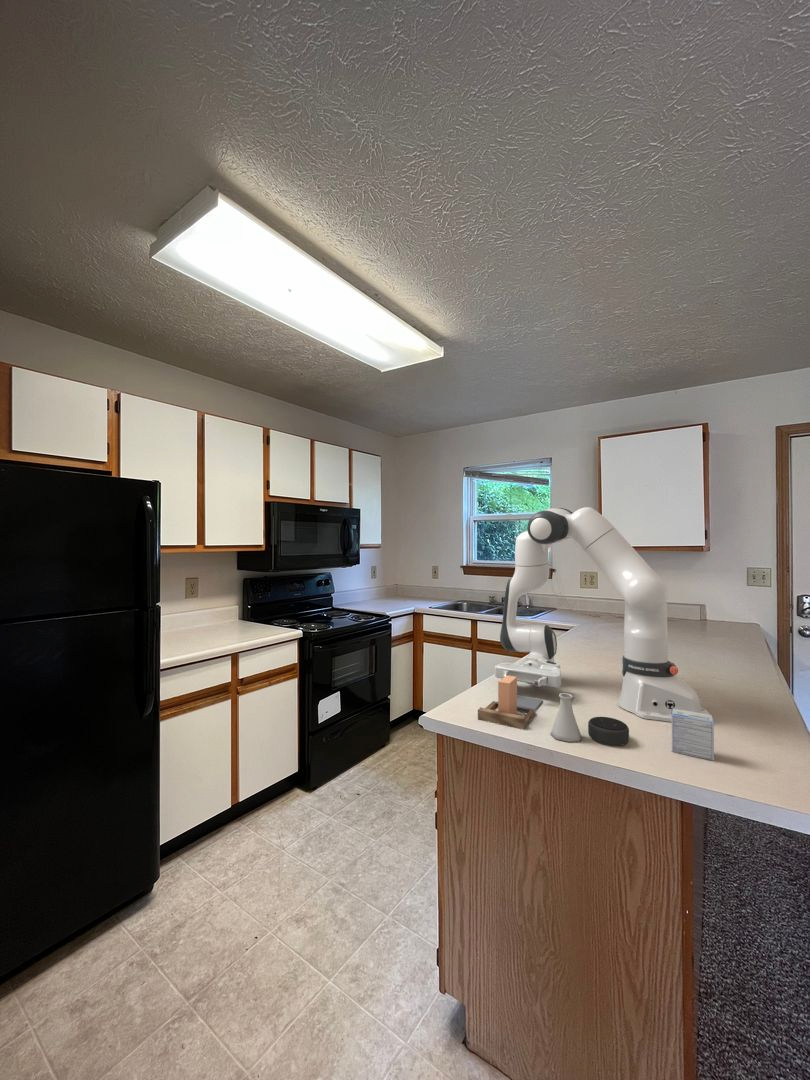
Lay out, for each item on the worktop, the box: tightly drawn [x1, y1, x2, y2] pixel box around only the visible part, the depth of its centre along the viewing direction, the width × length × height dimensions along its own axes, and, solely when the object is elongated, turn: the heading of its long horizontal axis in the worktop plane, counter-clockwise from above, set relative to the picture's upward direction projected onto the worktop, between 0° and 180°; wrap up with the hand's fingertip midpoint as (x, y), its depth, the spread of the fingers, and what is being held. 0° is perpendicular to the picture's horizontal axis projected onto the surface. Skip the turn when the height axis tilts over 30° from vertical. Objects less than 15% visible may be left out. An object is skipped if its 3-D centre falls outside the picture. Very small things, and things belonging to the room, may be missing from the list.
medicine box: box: [671, 709, 715, 761], centre depth 98 cm, size 8×4×9 cm, turn 58°
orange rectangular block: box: [497, 675, 518, 715], centre depth 118 cm, size 3×7×10 cm, turn 149°
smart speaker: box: [587, 716, 630, 747], centre depth 105 cm, size 9×9×4 cm
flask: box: [550, 692, 583, 743], centre depth 106 cm, size 7×7×10 cm
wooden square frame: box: [477, 700, 537, 730], centre depth 118 cm, size 12×12×2 cm
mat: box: [517, 694, 544, 711], centre depth 129 cm, size 11×9×1 cm
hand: (521, 680), depth 130 cm, fingers open, 8 cm apart
